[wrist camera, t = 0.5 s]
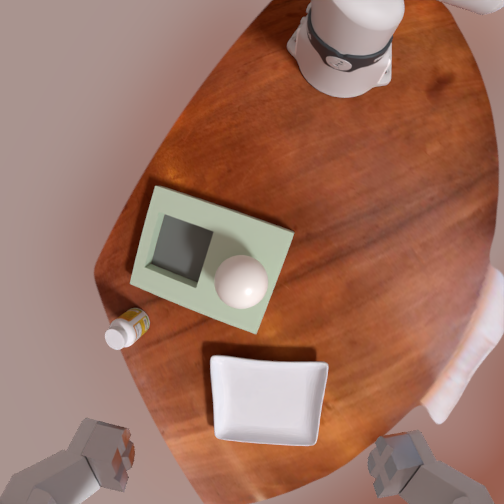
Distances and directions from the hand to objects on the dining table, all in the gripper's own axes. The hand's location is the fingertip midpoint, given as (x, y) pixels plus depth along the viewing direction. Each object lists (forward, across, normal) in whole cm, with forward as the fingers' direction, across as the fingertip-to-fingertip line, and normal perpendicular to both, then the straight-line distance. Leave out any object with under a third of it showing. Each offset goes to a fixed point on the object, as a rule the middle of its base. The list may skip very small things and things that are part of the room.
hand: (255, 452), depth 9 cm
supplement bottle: (+46, +20, +23) cm, 56 cm away
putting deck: (+46, +6, +9) cm, 47 cm away
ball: (+38, +1, +9) cm, 39 cm away
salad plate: (+42, -6, +35) cm, 55 cm away
